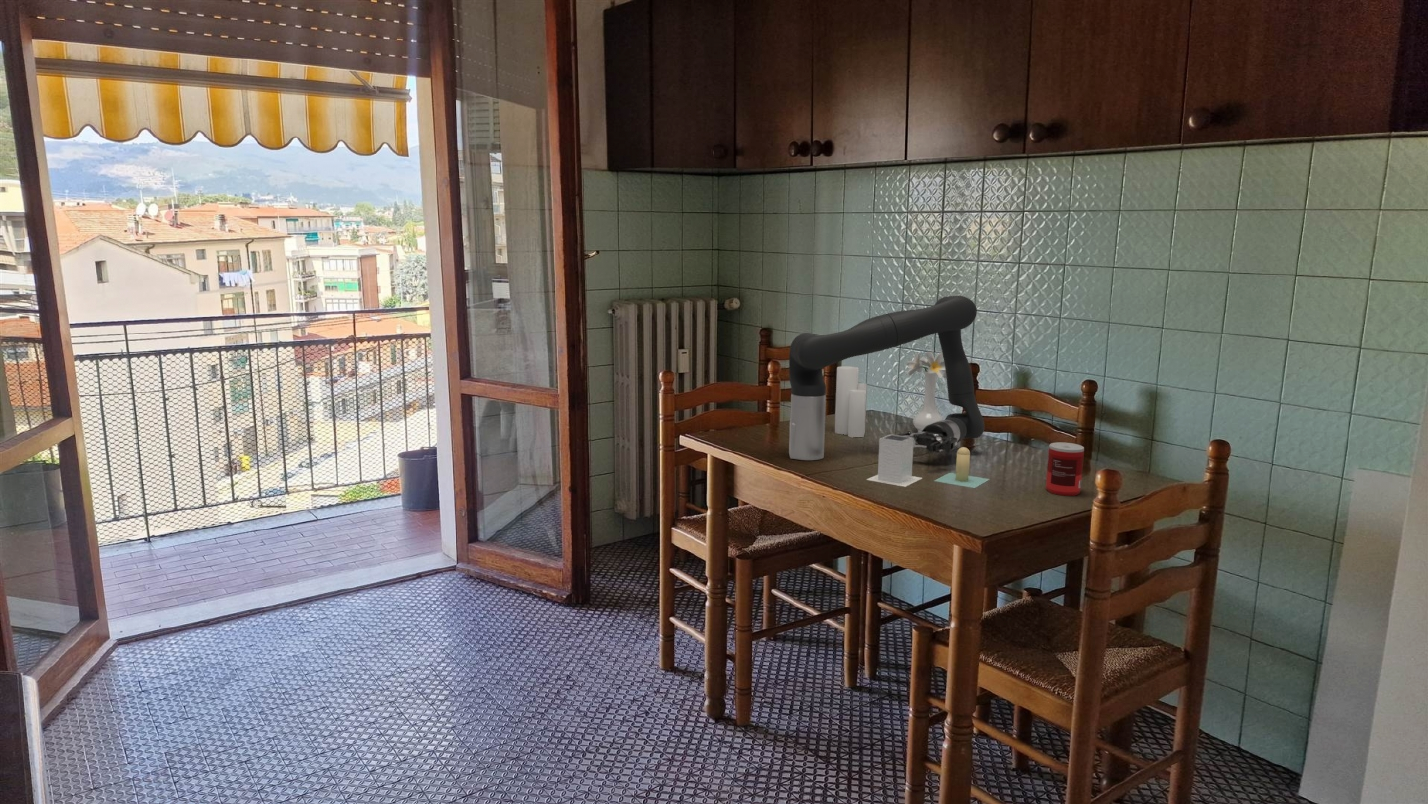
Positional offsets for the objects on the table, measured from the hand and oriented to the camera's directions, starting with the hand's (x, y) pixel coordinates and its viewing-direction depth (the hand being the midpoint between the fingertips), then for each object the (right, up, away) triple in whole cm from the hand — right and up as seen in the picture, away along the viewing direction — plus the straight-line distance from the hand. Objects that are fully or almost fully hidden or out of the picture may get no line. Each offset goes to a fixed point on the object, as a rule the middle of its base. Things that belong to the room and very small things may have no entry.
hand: (915, 446), depth 220 cm
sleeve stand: (-7, -9, -7) cm, 13 cm away
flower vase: (+16, +1, +53) cm, 56 cm away
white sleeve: (-7, -7, -8) cm, 13 cm away
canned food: (+32, -10, -11) cm, 36 cm away
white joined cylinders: (-8, +1, +50) cm, 51 cm away
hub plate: (+9, -9, -8) cm, 15 cm away
